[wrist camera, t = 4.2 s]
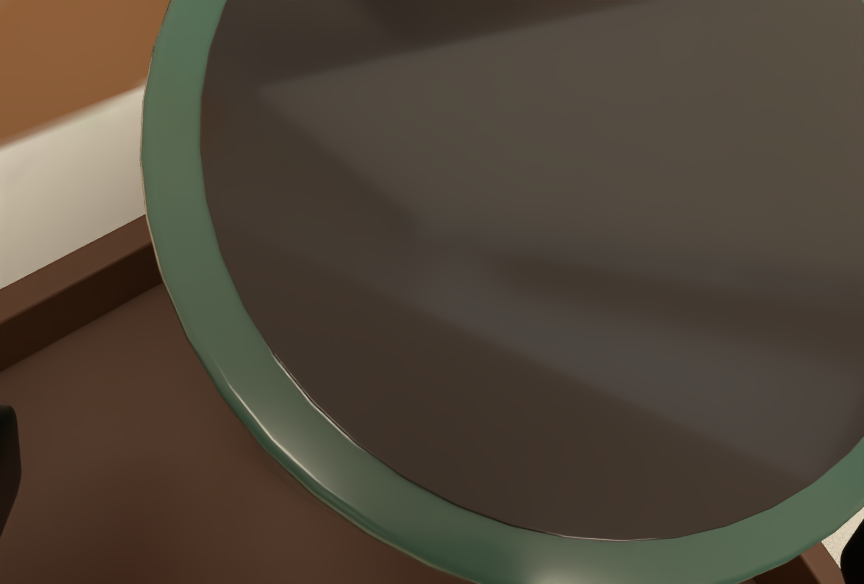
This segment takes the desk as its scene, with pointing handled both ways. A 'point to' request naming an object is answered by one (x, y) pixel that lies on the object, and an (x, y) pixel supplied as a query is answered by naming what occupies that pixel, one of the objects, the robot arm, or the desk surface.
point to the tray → (164, 450)
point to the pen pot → (528, 270)
